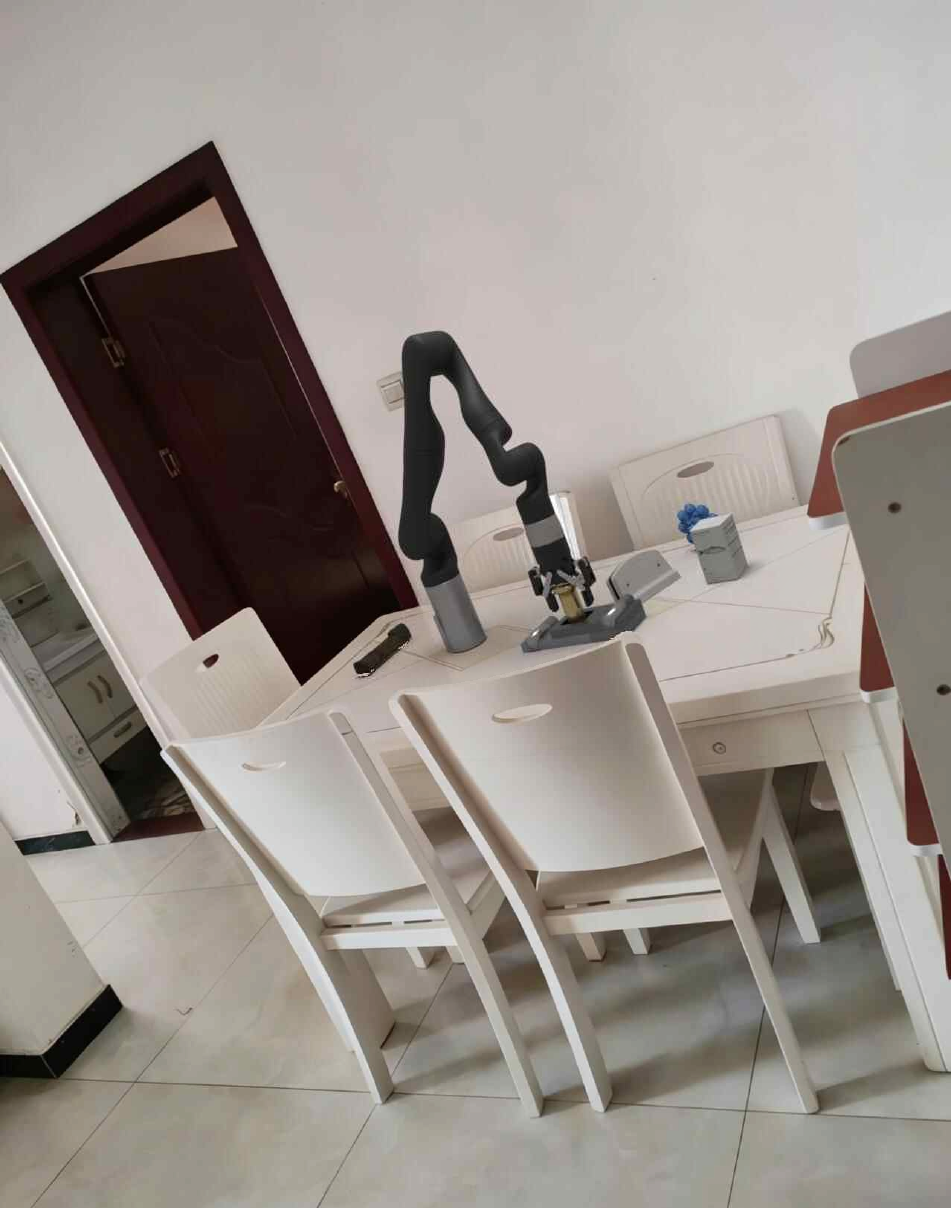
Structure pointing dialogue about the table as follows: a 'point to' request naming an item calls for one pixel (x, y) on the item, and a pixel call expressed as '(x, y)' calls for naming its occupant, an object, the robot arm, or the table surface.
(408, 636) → the hand tool
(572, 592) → the brass pin
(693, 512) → the grapes
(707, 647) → the table surface
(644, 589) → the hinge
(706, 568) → the supplement box
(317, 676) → the table surface
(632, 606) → the gray socket base
